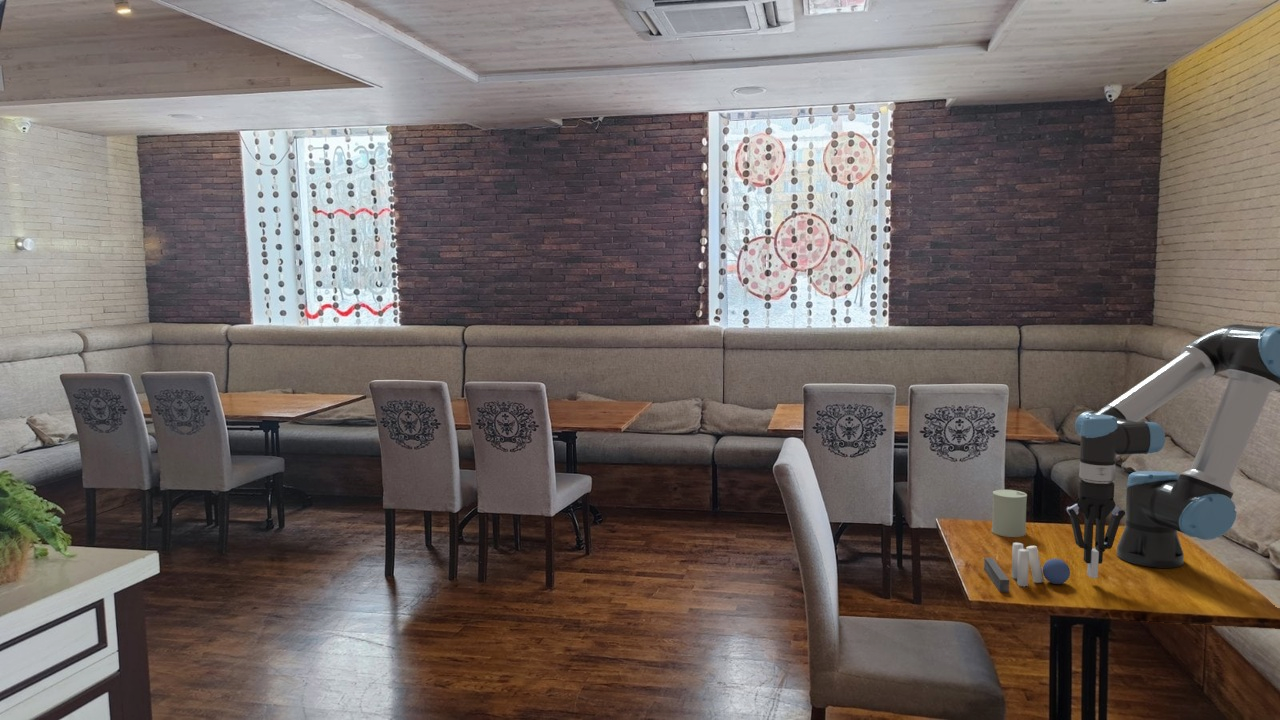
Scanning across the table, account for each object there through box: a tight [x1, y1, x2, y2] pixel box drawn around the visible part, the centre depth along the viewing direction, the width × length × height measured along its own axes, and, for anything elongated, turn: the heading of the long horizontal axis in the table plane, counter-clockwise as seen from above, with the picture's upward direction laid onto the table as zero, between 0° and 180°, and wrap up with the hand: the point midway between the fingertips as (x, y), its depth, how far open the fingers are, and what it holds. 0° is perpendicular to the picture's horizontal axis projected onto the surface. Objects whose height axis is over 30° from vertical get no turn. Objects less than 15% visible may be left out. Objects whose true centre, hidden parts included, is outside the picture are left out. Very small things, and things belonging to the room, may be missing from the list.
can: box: [991, 489, 1028, 538], centre depth 254 cm, size 9×9×12 cm
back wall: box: [983, 557, 1010, 593], centre depth 216 cm, size 2×16×3 cm, turn 171°
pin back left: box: [1016, 548, 1030, 588], centre depth 212 cm, size 2×2×8 cm
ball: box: [1042, 558, 1071, 585], centre depth 213 cm, size 6×6×6 cm
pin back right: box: [1011, 542, 1024, 580], centre depth 217 cm, size 2×2×8 cm
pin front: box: [1025, 545, 1045, 584], centre depth 214 cm, size 2×2×8 cm
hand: (1092, 576), depth 213 cm, fingers closed
